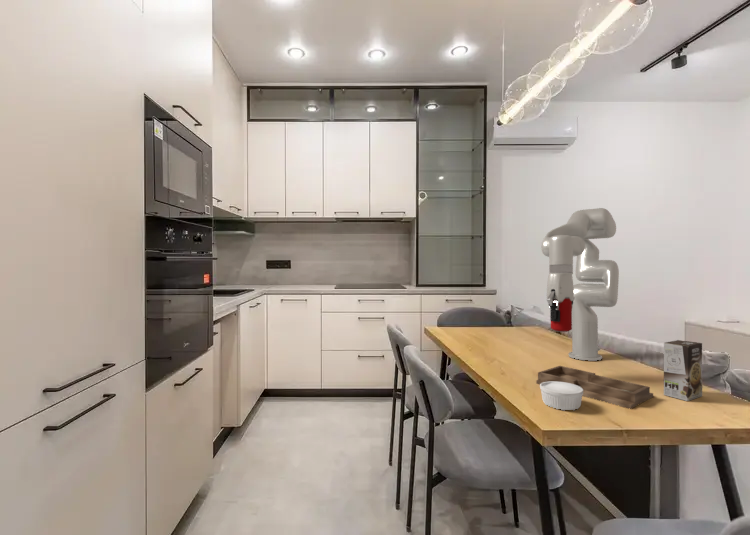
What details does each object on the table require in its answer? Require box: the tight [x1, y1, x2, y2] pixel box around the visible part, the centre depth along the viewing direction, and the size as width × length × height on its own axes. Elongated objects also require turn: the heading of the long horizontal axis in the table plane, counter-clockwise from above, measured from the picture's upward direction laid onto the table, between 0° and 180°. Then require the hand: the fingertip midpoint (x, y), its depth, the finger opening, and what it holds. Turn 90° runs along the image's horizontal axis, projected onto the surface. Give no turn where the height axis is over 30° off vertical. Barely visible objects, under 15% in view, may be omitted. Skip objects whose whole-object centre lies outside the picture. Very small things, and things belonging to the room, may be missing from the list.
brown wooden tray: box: [535, 365, 654, 410], centre depth 118 cm, size 28×16×4 cm, turn 35°
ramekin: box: [539, 381, 583, 411], centre depth 106 cm, size 11×11×5 cm
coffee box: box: [663, 339, 703, 402], centre depth 112 cm, size 9×6×16 cm
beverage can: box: [550, 297, 572, 333], centre depth 132 cm, size 7×7×12 cm
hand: (561, 320), depth 131 cm, fingers closed on beverage can, 6 cm apart
